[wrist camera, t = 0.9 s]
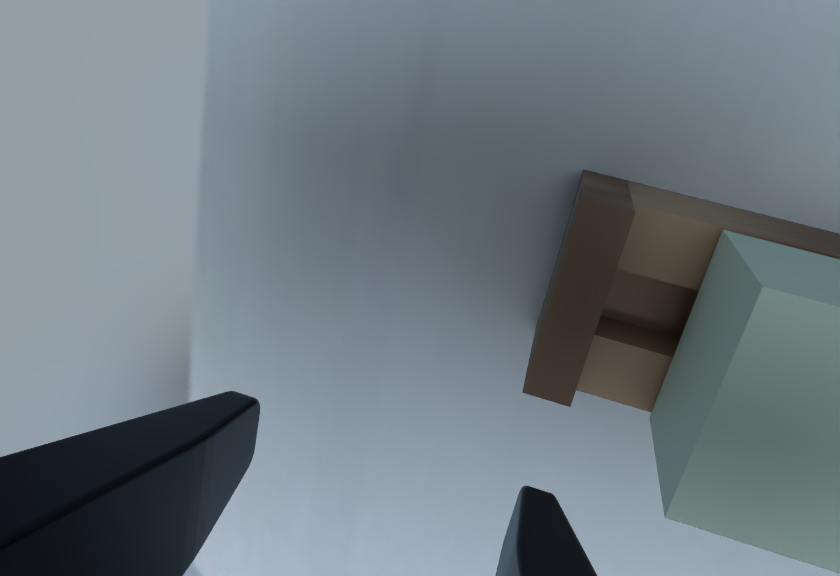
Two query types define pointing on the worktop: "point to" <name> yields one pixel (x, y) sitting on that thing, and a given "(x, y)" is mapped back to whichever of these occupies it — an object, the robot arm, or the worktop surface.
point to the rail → (634, 286)
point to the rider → (757, 403)
